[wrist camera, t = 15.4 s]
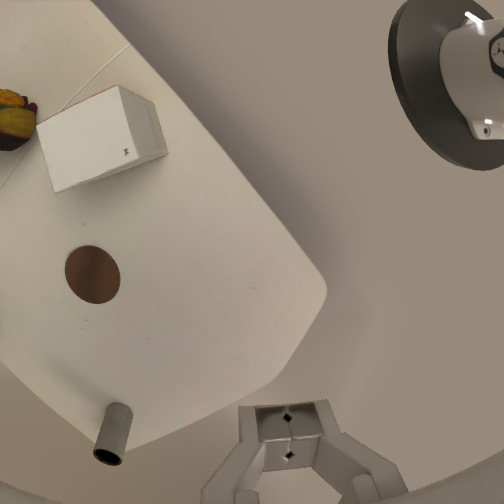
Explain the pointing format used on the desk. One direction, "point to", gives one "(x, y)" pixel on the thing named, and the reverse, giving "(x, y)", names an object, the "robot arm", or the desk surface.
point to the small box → (100, 138)
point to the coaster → (92, 274)
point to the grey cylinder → (113, 434)
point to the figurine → (15, 120)
